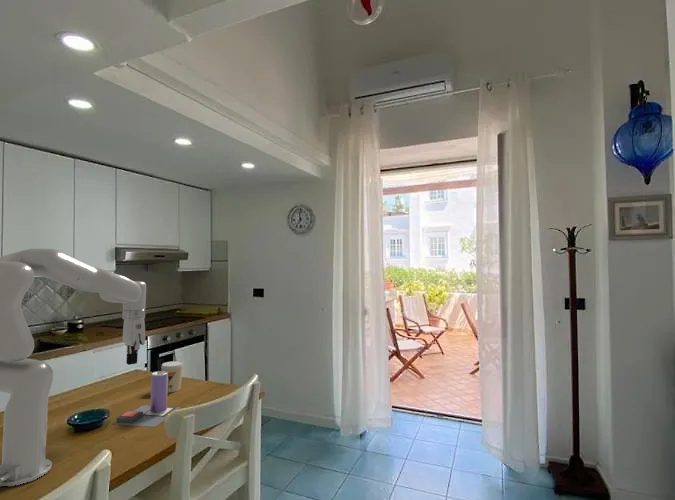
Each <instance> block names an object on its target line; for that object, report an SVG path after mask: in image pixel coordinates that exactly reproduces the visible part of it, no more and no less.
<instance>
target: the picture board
mask: <svg viewBox="0 0 675 500" xmlns="http://www.w3.org/2000/svg"><path fill="white" fill-rule="evenodd" d="M177 409H178V410H179V409H181V407H180V406H178V407H177V406H167V410H166V411H165V412H164V413H161V414H152V413H151V412H150V405H141V406H140V407H138V408H136V409H135V410H133V411H134V412H139V414H137V415H136V416H134V417H133V418H129V417H121V415H123V414H125V413H126V412H128V411H129V410H127V411H125V412H123V413H122V414H120V415H118V416H117V417H116V421H115V422H113V425H120V426H122V425H123V426H135V427H137V426H138V427H151V428H152V427H153V428H156V427H157V426H158V425H159V424H161V423H162V422H164V421H165V420H166V419H165V417H166V415H167V414H168V413H170V412H171V411H173V410H177ZM178 410H177V411H178ZM164 419H165V420H164Z"/></svg>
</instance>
